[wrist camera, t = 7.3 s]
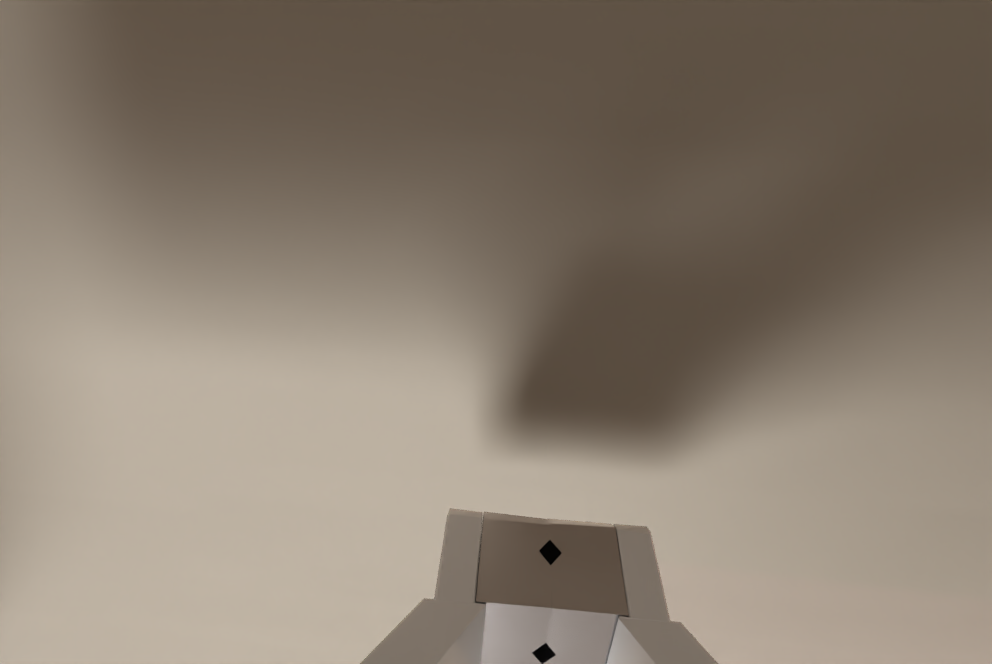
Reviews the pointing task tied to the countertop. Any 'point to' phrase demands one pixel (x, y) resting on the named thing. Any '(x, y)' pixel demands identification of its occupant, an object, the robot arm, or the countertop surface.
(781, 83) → the countertop surface
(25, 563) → the countertop surface
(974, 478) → the countertop surface
